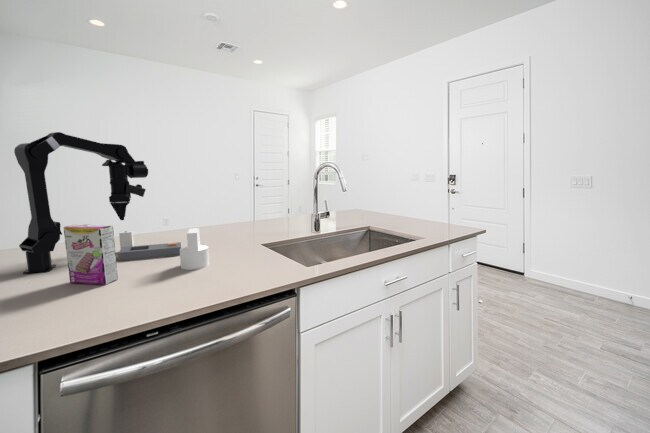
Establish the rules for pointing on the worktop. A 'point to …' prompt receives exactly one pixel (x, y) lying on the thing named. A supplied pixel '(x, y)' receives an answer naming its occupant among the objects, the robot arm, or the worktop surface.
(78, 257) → the candy bar box
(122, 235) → the plug block
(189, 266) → the cylinder with rectangular tab
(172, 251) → the grey board with hole
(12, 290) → the worktop surface
